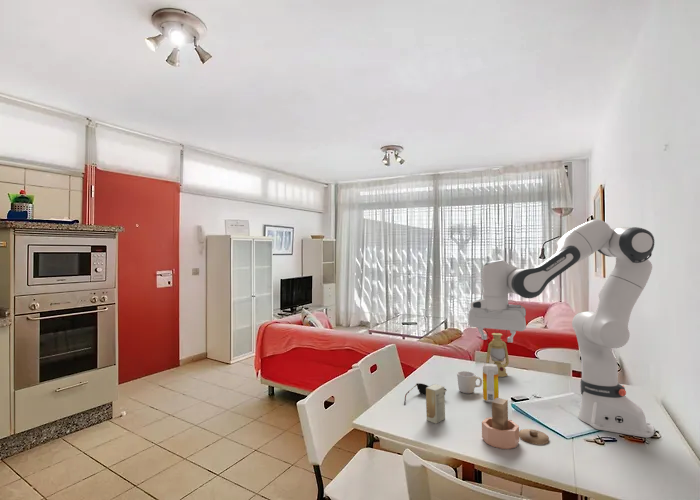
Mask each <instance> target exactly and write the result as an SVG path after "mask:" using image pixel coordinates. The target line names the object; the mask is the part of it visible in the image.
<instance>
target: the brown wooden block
mask: <svg viewBox="0 0 700 500" xmlns="http://www.w3.org/2000/svg"><path fill="white" fill-rule="evenodd" d="M508 403H509V401H508V399H506V398H500V397H499V398H496V399H495V400H494V401H493V402H492V403H491V417H492V428H495V429H499V430H508V419H509V407H508V406H509V405H508Z"/></svg>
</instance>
